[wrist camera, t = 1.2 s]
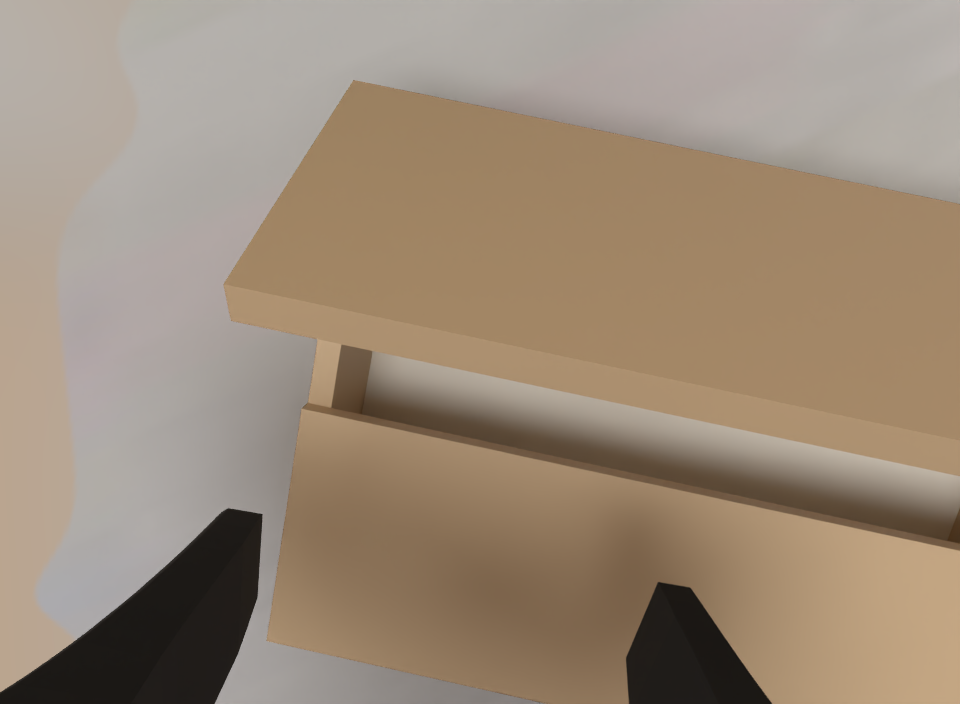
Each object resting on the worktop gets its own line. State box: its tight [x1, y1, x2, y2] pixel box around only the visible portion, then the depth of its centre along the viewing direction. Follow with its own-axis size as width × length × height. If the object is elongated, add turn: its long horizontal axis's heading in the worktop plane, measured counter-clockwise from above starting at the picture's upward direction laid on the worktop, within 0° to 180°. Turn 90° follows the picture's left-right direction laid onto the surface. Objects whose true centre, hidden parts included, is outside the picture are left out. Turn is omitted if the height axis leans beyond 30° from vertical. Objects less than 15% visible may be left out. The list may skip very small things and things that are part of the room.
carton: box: [267, 339, 960, 704], centre depth 19 cm, size 14×20×6 cm
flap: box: [224, 80, 960, 476], centre depth 13 cm, size 7×20×1 cm
